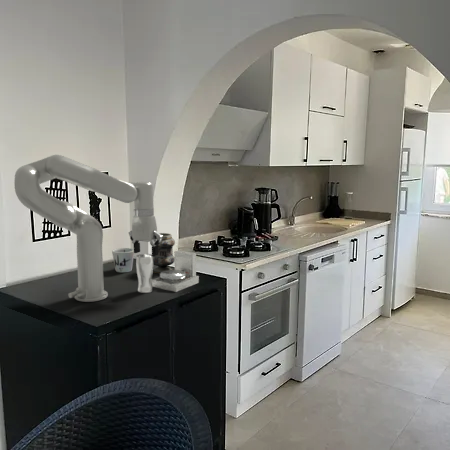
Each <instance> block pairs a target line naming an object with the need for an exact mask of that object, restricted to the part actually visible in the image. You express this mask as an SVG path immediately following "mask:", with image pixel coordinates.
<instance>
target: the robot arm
mask: <svg viewBox="0 0 450 450" xmlns="http://www.w3.org/2000/svg"><path fill="white" fill-rule="evenodd" d="M54 179H58V180H60V181H63V182H65V183H69V184H72V185H74V186H77V187H79V188H82V189H85V190H88V191H90V192H94V193H97V194H100V195H102V196H103V195H104V196H105V197H108V198H111V199H114V200H117V201H119V202H122V203H125V204H129V203H130V204H131V203H132V202H134V209H133V212H134V215H133V216H132V217H133V218H132V225H131V229H132V230H130V231H129V232H128V236H129V239H130V240H131V243H132V244H133V249H134V254H138V253H140V252H141V242H146V243H148V242H149V243H150V242H151V244H152V245H153V246H151V255H152V256H156V255H158V245H159V244H160V243H161V240H162V237H163V236H162V235H161V234H159V233H160V232H158V226H157V219H156V216H155V211H154V210H155V208H154V207H155V206H154V186H153V183H152V182H150V181H137V182H129V181H125V180H121V179H119V178H117V177H113V176H111V175H109V174H107V173H105V172H102V171H101V170H99V169H97V168H94V167H93V166H89V165H87V164H84V163H81V162H80V161H79V162H78V161H76V160H74V159H72V158H69V157H67V156H64V155H61V154H52V155H50V156H47V157H44V158H42V159H40V160H37V161H34V162H31V163H28V164H25V165H22V166H20V167H19V168H18V169H17V170H16V171H15V175H14V182H13V183H14V192H15V194H16V197H17V199H18V200H19V202H20V203H21V204H22V205H23V206H24V207H26V209H27V208H28V209H29V210H30V211H32V212H33V213H35V214H37V215H39V216H40V217H42V218H43V219H45V220H47V221H49V222H51V224H52V223H53V225H54V226H56V227H59V228H61V229H62V228H63V229H66V230H67V231H68V232H71V233H73V234H75V235H76V260H77V262H76V263H77V284H78V285H77V286H78V287H76V289H75V290H74V291H73V292H72V291H71V292H68V294H67V295H68V298H70V299H71V298H74V300H76V301H78V302H85V303H90V302H92V303H93V302H99V301H102V300H104V299H106V298H107V297H108V295H109V293H108V291H106V290H105V289H104V288H105V287H104V264H103V263H104V261H103V260H104V259H103V242H104V241H103V239H104V232H103V227H102V225H101V223H100V221H98V219H96V218H95V217H93V216H92V215H90V214H88V213H87V212H85V211H84V210H82V209H81V208H79V207H77V206H75V205H74V204H73V203H70V202H68V201H65V200H60V199H58V198H57V197H55V196H53V195H52V194H50V193H48V192H47V191H45V190H43V188H42V187H41V184H44V183H47V182H49V181H53V180H54ZM157 238H158V239H157ZM154 242H155V243H154ZM151 244H150V245H151Z"/></svg>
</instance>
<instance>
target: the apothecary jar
mask: <svg viewBox="0 0 450 450" xmlns="http://www.w3.org/2000/svg"><path fill="white" fill-rule="evenodd" d="M158 233H159V234H161V235H162V236H163V237H162V240H161V243H160V244H159V245H158V255H156V256H153V266H157V267H155V268H153V273H154V274H160V273H161V272H163V271H167V270H174V269H173V268H171V267H170V266H171V265H173V264H175V261H174V253H173V247H174V246H175V244H176V242H175V239H174V238H173V237H172V236H173V235H172V234H171V233H169V232H158ZM157 239H158V238H157ZM154 243H155V242H154ZM149 245H150V246H151V247H152V246H153V245H152V244H151V242H149ZM168 266H169V267H168Z"/></svg>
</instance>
